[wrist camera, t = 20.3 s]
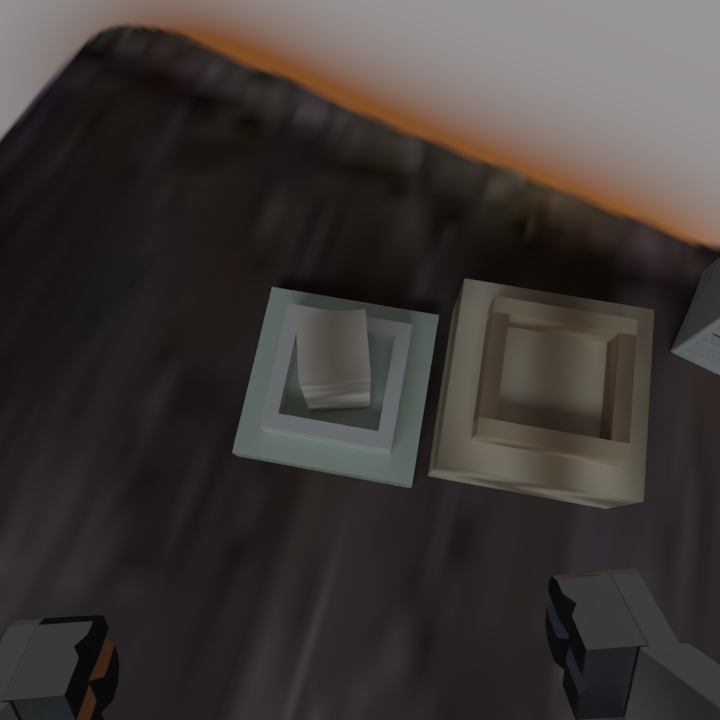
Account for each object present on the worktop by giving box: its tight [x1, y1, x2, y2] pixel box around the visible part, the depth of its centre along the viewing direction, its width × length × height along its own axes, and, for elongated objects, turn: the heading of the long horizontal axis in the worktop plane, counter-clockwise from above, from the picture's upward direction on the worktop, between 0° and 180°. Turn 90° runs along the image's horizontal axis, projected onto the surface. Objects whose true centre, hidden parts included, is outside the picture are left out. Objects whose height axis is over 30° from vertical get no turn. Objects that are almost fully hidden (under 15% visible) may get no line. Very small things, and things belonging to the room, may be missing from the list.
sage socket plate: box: [232, 287, 439, 488], centre depth 44 cm, size 12×12×4 cm
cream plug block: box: [295, 309, 371, 413], centre depth 40 cm, size 4×4×8 cm
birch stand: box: [427, 279, 654, 509], centre depth 41 cm, size 12×12×8 cm
